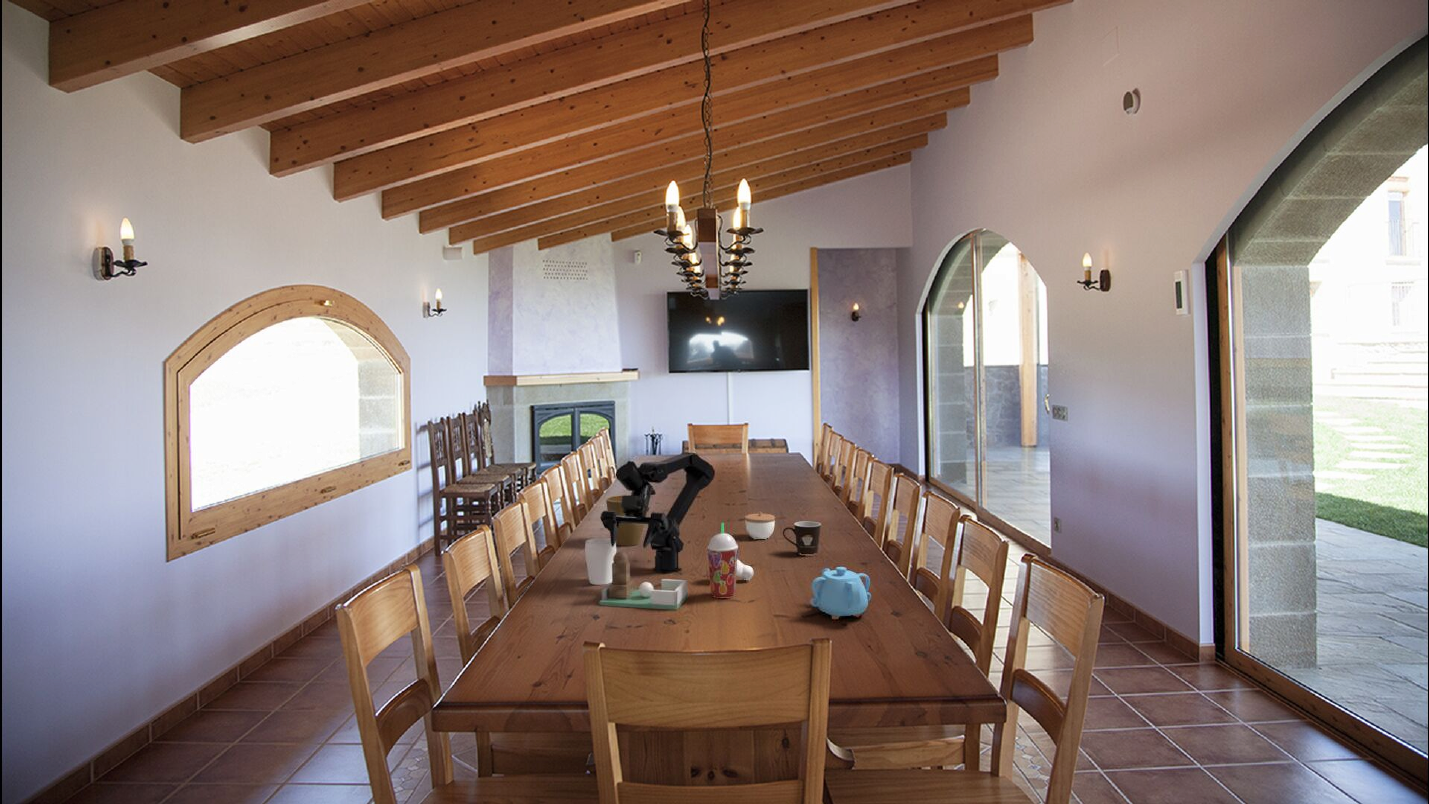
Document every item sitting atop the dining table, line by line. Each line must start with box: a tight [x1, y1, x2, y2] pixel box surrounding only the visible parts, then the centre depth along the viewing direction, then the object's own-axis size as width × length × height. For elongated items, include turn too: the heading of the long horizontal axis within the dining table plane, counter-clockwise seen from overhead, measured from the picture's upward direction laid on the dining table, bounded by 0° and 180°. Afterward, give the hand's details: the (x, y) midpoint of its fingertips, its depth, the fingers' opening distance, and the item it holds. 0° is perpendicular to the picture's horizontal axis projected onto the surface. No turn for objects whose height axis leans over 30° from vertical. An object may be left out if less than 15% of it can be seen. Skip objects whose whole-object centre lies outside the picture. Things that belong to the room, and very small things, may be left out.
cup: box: [584, 537, 617, 586], centre depth 232 cm, size 9×9×12 cm
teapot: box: [809, 566, 872, 617], centre depth 203 cm, size 20×17×12 cm
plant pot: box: [605, 494, 647, 547], centre depth 279 cm, size 15×15×16 cm
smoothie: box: [707, 522, 739, 598], centre depth 218 cm, size 8×8×20 cm
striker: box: [608, 551, 635, 598], centre depth 215 cm, size 5×6×12 cm
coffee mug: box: [782, 520, 822, 554], centre depth 263 cm, size 12×9×10 cm
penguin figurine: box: [736, 558, 754, 581], centre depth 232 cm, size 6×8×12 cm
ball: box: [638, 581, 655, 597], centre depth 214 cm, size 4×4×4 cm
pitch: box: [599, 578, 689, 611], centre depth 214 cm, size 21×12×4 cm, turn 78°
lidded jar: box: [744, 511, 776, 540], centre depth 286 cm, size 11×11×9 cm
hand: (628, 546), depth 222 cm, fingers open, 9 cm apart
